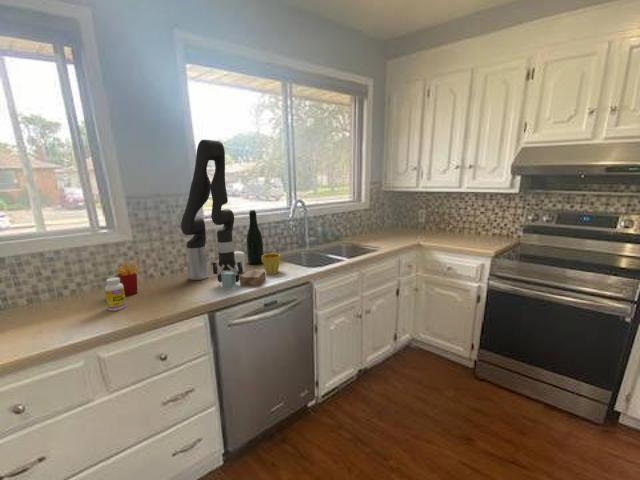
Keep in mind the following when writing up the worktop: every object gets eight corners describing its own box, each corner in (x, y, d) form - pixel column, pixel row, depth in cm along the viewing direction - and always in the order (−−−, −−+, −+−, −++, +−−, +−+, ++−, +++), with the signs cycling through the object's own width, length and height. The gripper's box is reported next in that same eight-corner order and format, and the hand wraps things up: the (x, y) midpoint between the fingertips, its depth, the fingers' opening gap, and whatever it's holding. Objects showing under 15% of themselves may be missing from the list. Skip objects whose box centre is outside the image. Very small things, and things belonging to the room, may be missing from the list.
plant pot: (279, 275, 175) (278, 257, 173) (260, 275, 176) (259, 258, 174) (282, 269, 186) (281, 253, 184) (264, 270, 186) (263, 253, 184)
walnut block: (240, 286, 160) (239, 277, 159) (247, 280, 169) (246, 271, 168) (259, 287, 158) (259, 277, 157) (265, 280, 168) (265, 271, 167)
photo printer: (244, 270, 186) (242, 249, 183) (246, 272, 182) (245, 251, 180) (226, 273, 180) (224, 252, 178) (228, 275, 177) (226, 253, 174)
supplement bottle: (113, 312, 132) (108, 282, 130) (105, 309, 136) (100, 280, 133) (129, 306, 138) (125, 277, 135) (121, 303, 141) (117, 275, 139)
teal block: (222, 286, 159) (221, 275, 158) (226, 283, 164) (225, 272, 163) (232, 286, 159) (231, 275, 158) (235, 283, 164) (234, 272, 163)
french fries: (124, 297, 149) (119, 266, 146) (118, 293, 154) (113, 263, 151) (144, 292, 155) (140, 261, 152) (138, 288, 161) (134, 259, 158)
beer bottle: (244, 264, 199) (240, 211, 192) (252, 260, 209) (249, 209, 202) (259, 265, 196) (256, 211, 189) (267, 260, 206) (264, 209, 199)
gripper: (208, 252, 155) (212, 284, 158) (237, 252, 154) (240, 284, 157) (215, 248, 162) (218, 279, 166) (242, 248, 161) (245, 279, 164)
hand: (228, 281), depth 161 cm, fingers open, 8 cm apart
